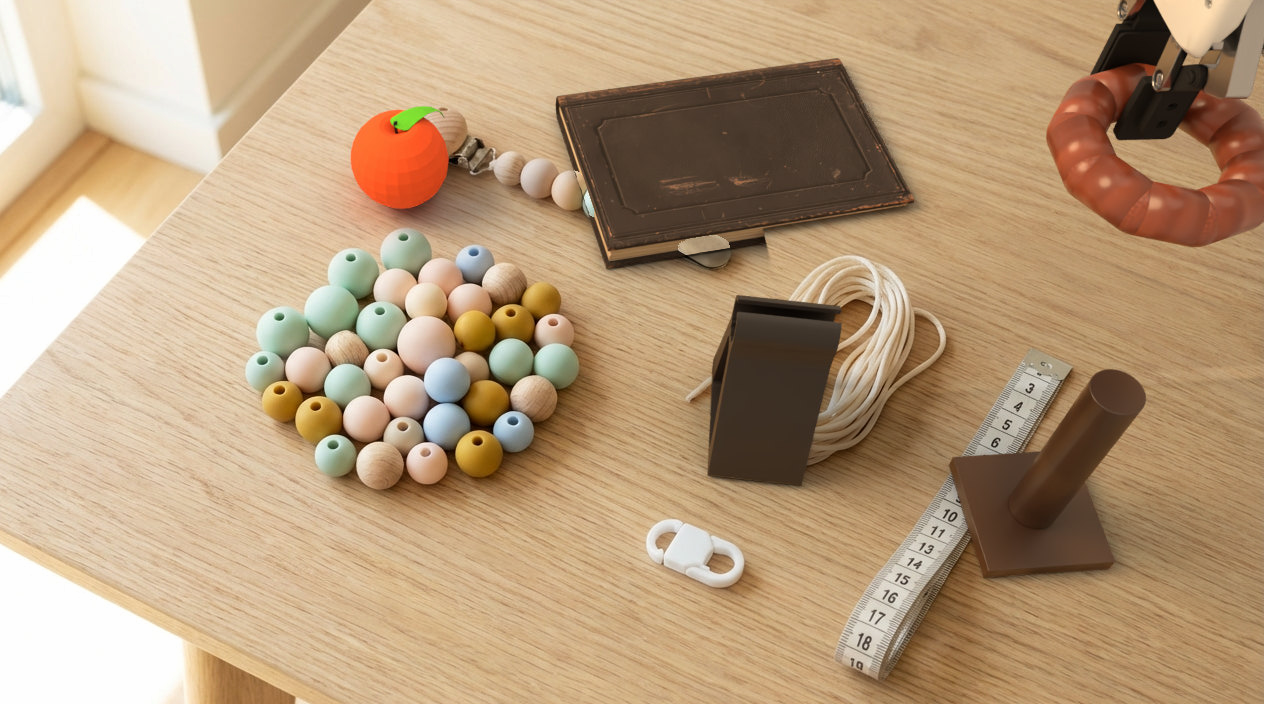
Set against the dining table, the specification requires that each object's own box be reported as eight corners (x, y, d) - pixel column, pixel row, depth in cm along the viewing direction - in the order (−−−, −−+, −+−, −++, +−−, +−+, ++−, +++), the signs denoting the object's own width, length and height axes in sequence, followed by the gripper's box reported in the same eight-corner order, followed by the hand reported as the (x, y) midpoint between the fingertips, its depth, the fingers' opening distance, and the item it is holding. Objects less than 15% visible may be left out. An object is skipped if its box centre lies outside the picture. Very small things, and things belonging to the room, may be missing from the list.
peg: (1067, 456, 79) (1162, 327, 68) (1109, 568, 75) (1218, 451, 63) (948, 464, 78) (1023, 335, 67) (983, 578, 74) (1070, 460, 62)
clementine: (414, 138, 93) (407, 65, 87) (480, 184, 90) (478, 112, 85) (336, 194, 89) (323, 122, 83) (402, 244, 87) (394, 173, 81)
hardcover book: (906, 221, 90) (915, 199, 88) (606, 269, 86) (608, 248, 84) (831, 75, 99) (837, 53, 97) (555, 113, 95) (555, 91, 93)
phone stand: (712, 362, 82) (739, 245, 72) (801, 372, 82) (841, 256, 72) (706, 477, 77) (734, 368, 67) (800, 488, 77) (843, 381, 67)
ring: (1213, 88, 68) (1238, 49, 66) (1301, 254, 62) (1333, 218, 60) (1014, 93, 67) (1033, 54, 65) (1082, 262, 61) (1106, 225, 59)
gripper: (1488, -98, 47) (1251, 220, 63) (1312, -313, 57) (1142, 10, 72) (1305, -96, 47) (1110, 224, 62) (1157, -314, 56) (1019, 12, 71)
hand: (1129, 107), depth 67 cm, fingers closed on ring, 3 cm apart
